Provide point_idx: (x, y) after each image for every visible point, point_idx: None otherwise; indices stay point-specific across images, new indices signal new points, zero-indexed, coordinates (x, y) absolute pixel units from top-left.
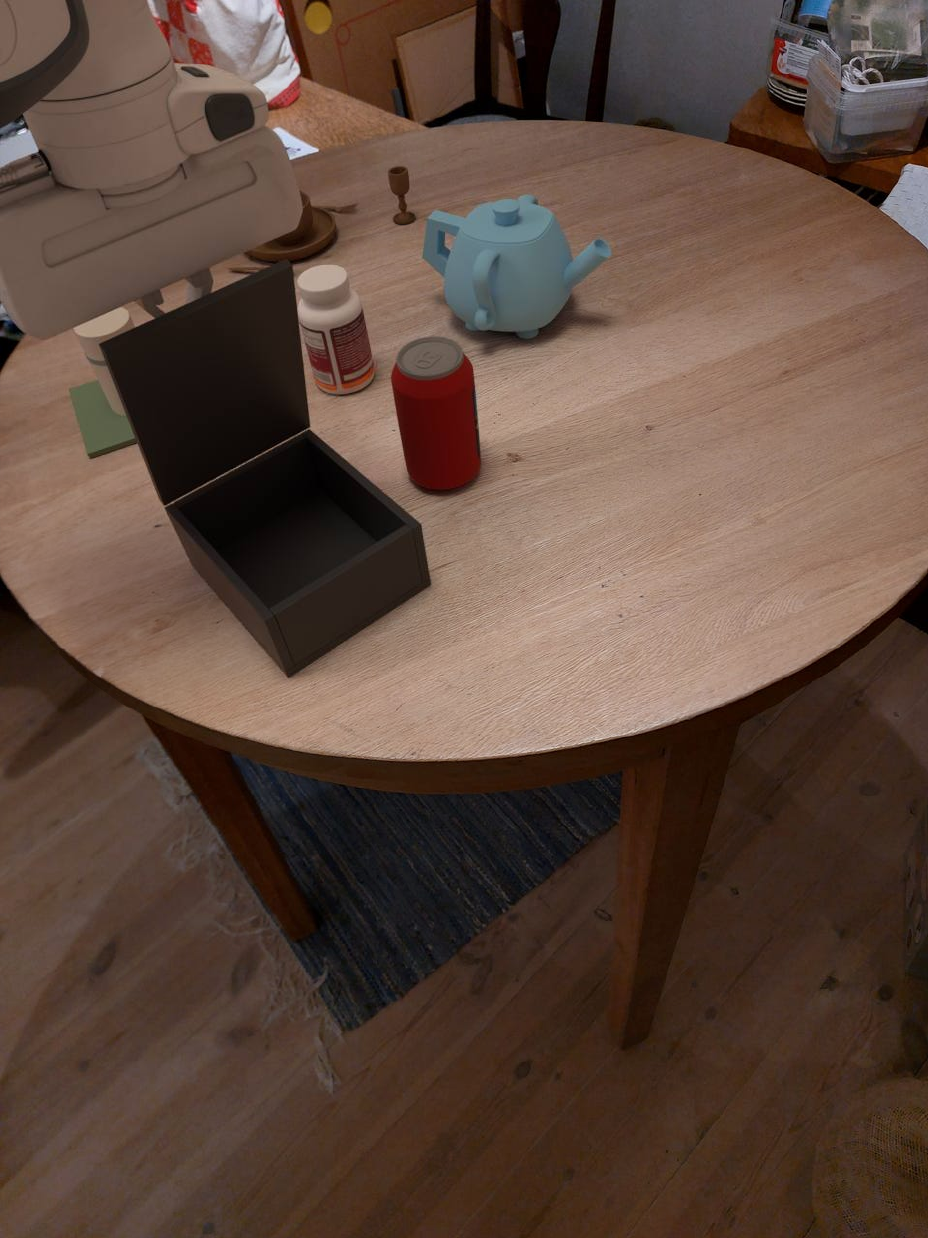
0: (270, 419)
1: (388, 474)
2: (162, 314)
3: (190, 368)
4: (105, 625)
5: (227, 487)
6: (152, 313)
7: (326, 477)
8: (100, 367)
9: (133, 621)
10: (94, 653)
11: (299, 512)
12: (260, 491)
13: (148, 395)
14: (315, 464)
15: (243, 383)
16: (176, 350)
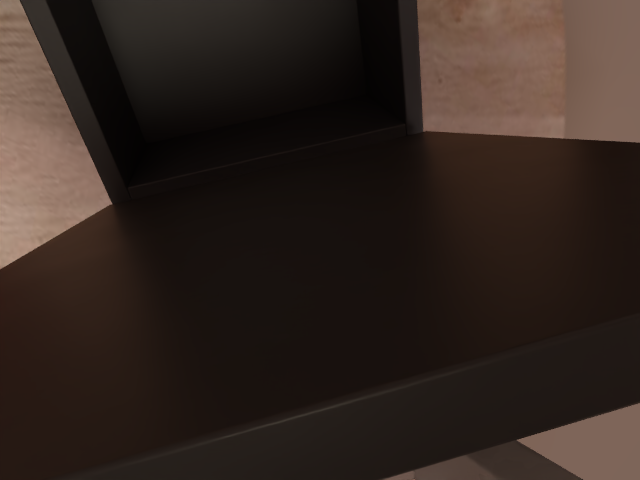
0: (182, 197)
1: (18, 135)
2: (485, 455)
3: (415, 208)
4: (514, 55)
5: (307, 140)
6: (541, 465)
7: (122, 122)
8: None
9: (483, 39)
10: (548, 8)
11: (195, 113)
12: (248, 140)
13: (572, 163)
14: (134, 158)
15: (219, 216)
16: (512, 229)
